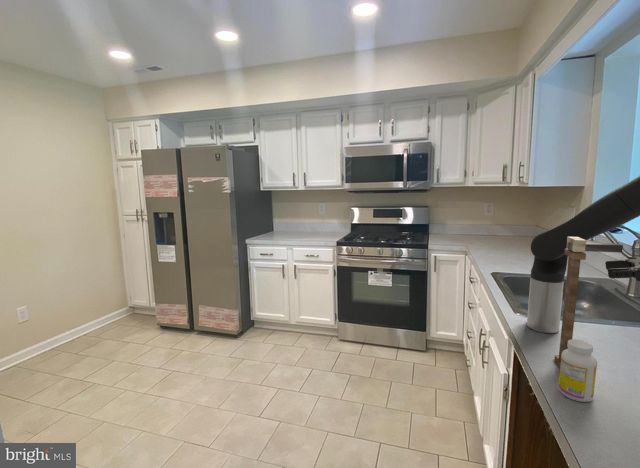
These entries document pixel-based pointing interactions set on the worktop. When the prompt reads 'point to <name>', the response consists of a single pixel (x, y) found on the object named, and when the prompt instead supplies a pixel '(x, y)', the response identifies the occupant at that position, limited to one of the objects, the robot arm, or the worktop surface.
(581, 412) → the worktop surface
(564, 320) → the walnut stand
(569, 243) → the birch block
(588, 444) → the worktop surface
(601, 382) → the worktop surface
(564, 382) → the supplement bottle
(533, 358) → the worktop surface
